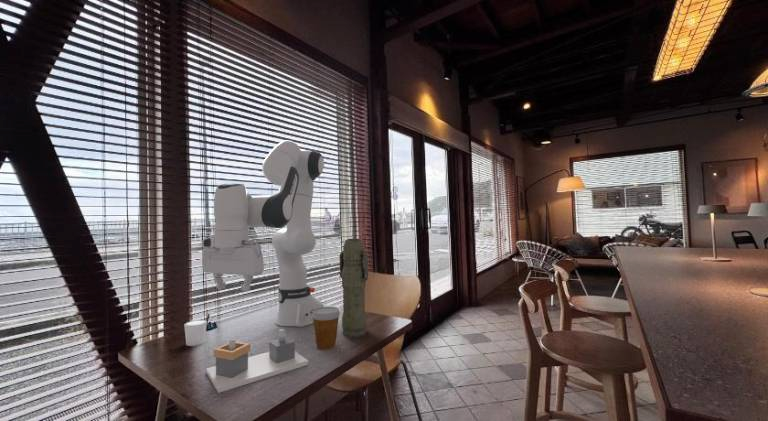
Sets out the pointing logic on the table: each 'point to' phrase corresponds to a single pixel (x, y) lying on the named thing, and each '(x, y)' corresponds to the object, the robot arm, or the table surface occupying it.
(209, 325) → the bird
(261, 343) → the table surface
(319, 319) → the disposable coffee cup
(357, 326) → the thermos
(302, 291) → the robot arm
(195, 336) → the white cup
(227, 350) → the ring
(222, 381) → the jig plate
